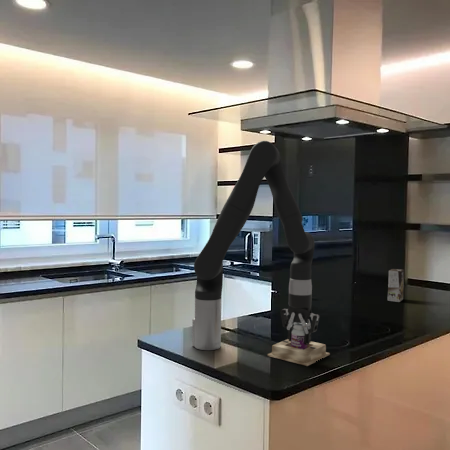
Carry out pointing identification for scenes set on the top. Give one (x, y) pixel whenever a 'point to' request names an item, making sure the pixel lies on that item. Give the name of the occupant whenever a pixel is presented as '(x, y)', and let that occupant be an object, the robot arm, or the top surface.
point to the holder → (299, 352)
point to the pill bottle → (298, 337)
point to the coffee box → (395, 285)
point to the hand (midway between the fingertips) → (298, 342)
